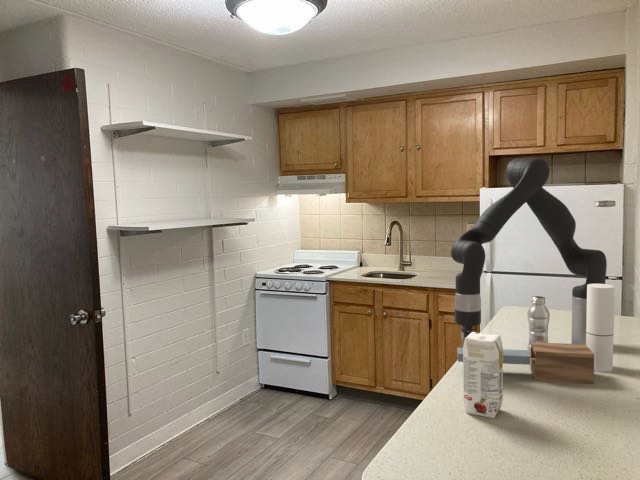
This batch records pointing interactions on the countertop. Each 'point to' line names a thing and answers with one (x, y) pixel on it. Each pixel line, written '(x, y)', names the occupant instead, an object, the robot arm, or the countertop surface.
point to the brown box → (562, 362)
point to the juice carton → (482, 374)
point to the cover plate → (506, 356)
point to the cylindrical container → (600, 325)
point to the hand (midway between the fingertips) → (467, 362)
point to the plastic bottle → (538, 321)
